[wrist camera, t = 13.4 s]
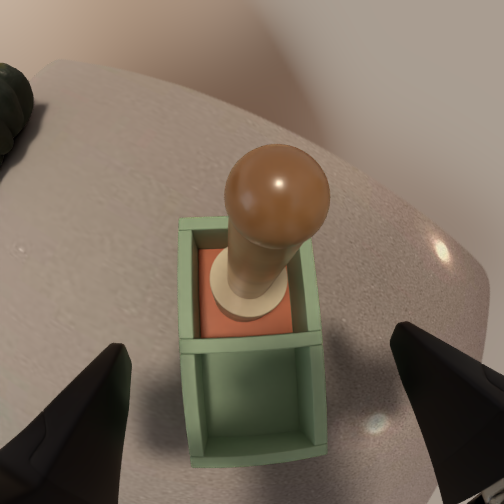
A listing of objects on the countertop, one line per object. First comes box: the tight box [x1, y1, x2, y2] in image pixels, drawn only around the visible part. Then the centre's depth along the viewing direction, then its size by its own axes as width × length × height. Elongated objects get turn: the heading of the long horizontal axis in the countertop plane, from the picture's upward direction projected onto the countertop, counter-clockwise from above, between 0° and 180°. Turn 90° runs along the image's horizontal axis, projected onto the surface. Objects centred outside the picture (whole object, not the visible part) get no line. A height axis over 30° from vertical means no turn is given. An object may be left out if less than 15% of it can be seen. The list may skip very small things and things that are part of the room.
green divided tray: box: [178, 216, 327, 468], centre depth 15 cm, size 14×8×4 cm, turn 4°
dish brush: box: [210, 144, 330, 322], centre depth 11 cm, size 4×4×13 cm
